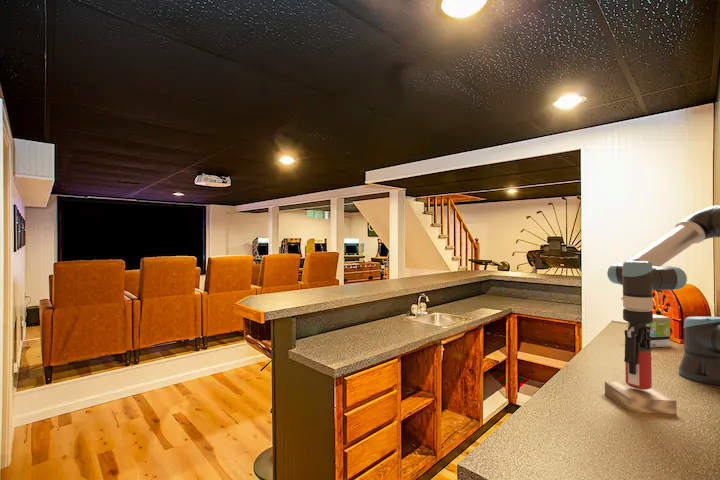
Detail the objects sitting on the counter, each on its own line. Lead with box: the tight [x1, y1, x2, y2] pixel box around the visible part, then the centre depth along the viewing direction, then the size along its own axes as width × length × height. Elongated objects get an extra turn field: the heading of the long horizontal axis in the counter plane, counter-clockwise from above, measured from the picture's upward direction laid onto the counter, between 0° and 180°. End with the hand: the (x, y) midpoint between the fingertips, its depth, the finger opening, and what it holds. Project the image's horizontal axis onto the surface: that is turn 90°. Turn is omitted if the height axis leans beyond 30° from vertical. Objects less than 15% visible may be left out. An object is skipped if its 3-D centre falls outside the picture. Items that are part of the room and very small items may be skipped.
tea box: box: [626, 313, 671, 348], centre depth 176 cm, size 15×10×15 cm, turn 102°
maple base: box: [604, 381, 678, 415], centre depth 112 cm, size 13×13×4 cm
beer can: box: [624, 347, 653, 390], centre depth 112 cm, size 7×7×12 cm
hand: (638, 381), depth 112 cm, fingers closed on beer can, 6 cm apart
